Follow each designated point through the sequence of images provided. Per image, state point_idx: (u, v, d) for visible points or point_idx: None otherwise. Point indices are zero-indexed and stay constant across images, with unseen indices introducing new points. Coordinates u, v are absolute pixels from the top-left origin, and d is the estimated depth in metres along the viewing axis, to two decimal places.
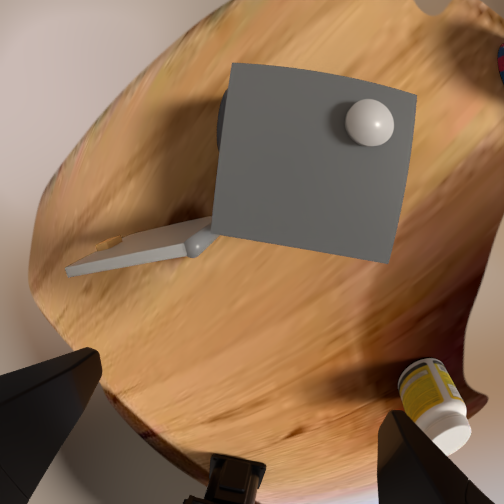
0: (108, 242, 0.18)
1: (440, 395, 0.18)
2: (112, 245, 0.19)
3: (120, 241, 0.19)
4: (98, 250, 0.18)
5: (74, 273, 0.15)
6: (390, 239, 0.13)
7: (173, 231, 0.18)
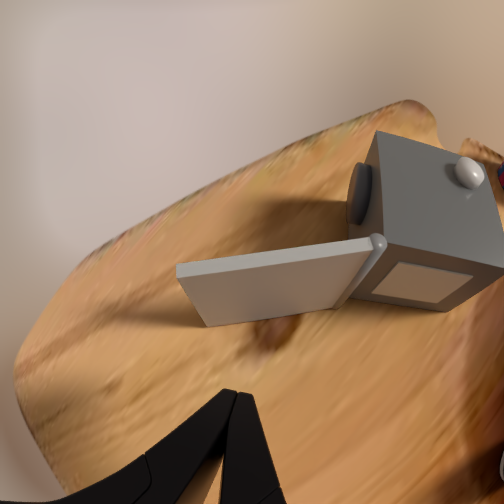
0: None
1: None
2: None
3: None
4: None
5: (193, 271, 0.12)
6: None
7: None
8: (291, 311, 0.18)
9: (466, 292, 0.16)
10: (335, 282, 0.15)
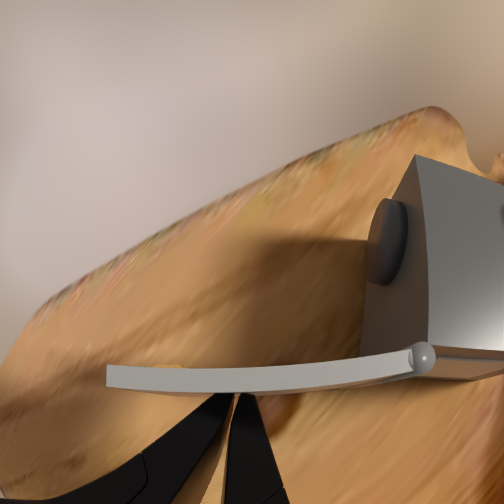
0: (182, 367, 0.10)
1: None
2: None
3: None
4: None
5: (128, 382, 0.07)
6: None
7: None
8: (286, 393, 0.13)
9: None
10: None
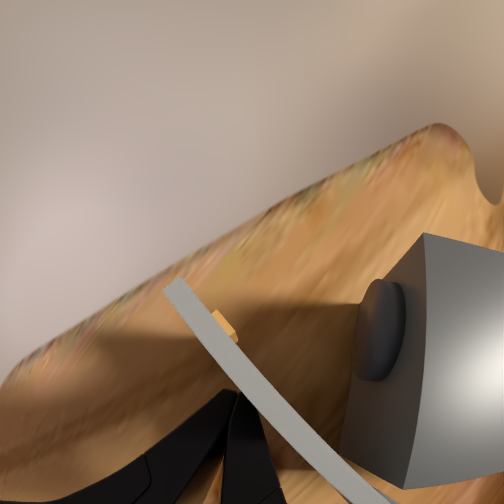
0: (234, 333, 0.10)
1: None
2: None
3: None
4: None
5: (182, 306, 0.07)
6: None
7: None
8: None
9: None
10: None
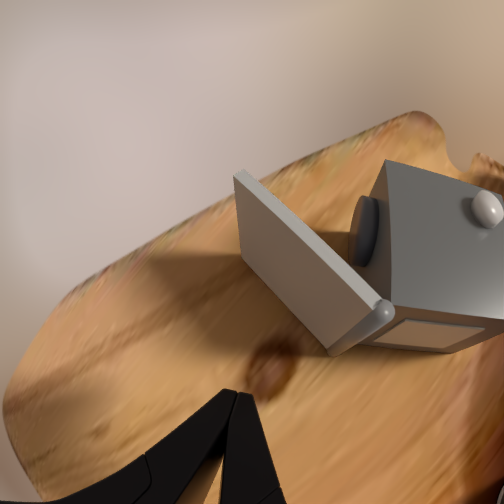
0: None
1: None
2: None
3: None
4: None
5: (245, 182, 0.13)
6: None
7: None
8: (297, 312, 0.18)
9: (475, 340, 0.14)
10: (335, 316, 0.13)
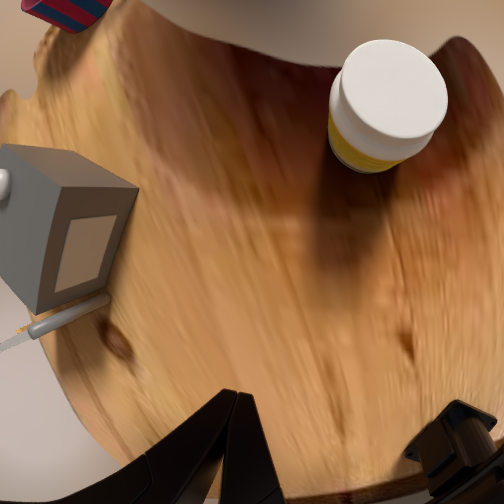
0: (22, 328, 0.20)
1: None
2: (26, 330, 0.20)
3: None
4: None
5: None
6: (49, 181, 0.13)
7: None
8: None
9: (101, 199, 0.17)
10: None
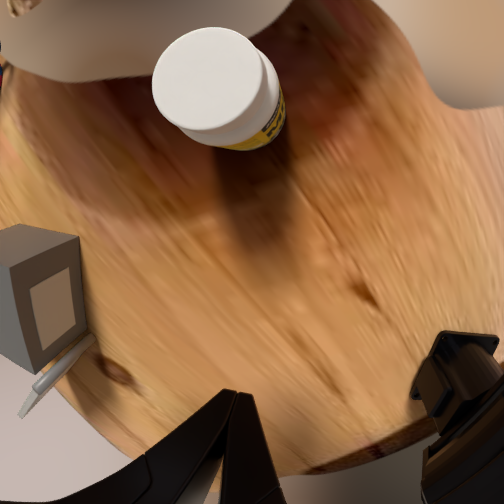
0: None
1: None
2: None
3: None
4: None
5: (21, 416, 0.18)
6: None
7: None
8: (76, 359, 0.24)
9: (48, 261, 0.18)
10: None
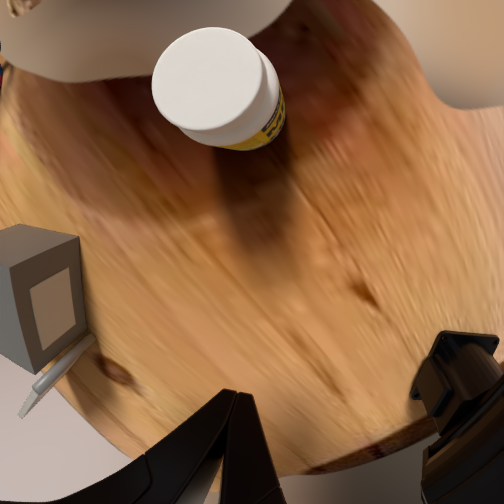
0: None
1: None
2: None
3: None
4: None
5: (21, 416, 0.18)
6: None
7: None
8: (76, 359, 0.24)
9: (48, 261, 0.18)
10: None
